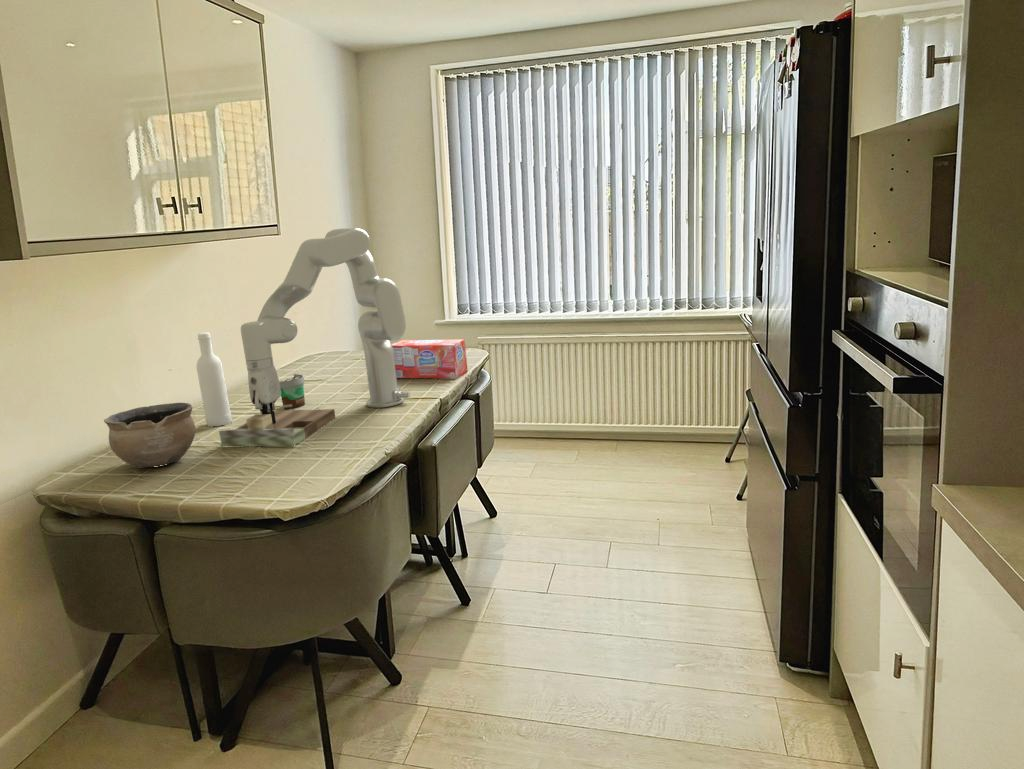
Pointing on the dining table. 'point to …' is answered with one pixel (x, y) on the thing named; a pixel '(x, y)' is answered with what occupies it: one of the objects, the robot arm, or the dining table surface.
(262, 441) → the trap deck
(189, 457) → the dining table surface
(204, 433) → the dining table surface
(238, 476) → the dining table surface
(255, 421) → the maple block
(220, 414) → the bottle
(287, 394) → the food container
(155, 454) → the ceramic bowl
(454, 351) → the box
